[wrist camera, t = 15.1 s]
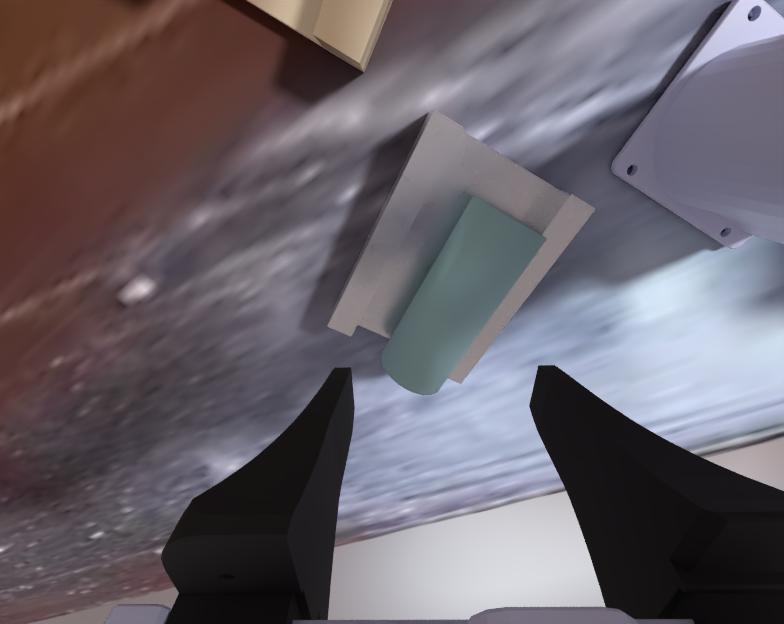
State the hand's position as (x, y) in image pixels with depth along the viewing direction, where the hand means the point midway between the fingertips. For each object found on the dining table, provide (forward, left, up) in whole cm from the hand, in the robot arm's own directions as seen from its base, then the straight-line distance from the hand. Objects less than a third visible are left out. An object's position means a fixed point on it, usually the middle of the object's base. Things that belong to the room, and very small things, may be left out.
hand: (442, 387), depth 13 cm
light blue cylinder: (-1, -1, -6) cm, 6 cm away
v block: (0, -2, -9) cm, 9 cm away
